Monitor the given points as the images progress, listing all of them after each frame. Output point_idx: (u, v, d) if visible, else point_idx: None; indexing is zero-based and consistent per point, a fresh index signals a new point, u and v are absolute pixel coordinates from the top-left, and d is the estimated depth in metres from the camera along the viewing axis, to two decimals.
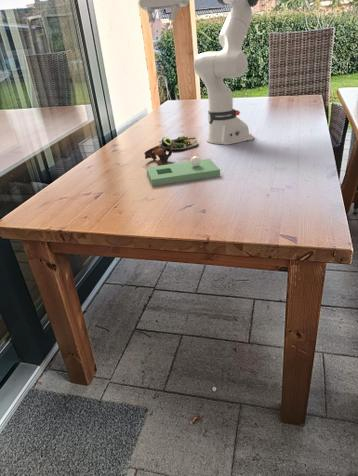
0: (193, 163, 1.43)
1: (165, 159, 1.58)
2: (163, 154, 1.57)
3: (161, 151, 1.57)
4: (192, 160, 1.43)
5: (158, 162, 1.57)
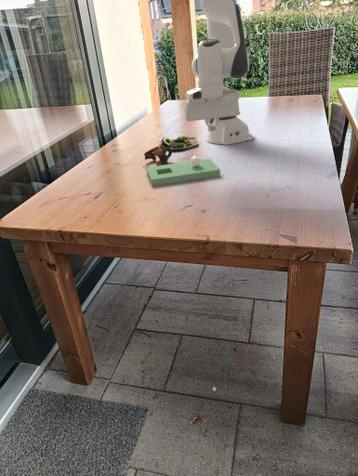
0: (193, 163, 1.43)
1: (165, 160, 1.57)
2: (163, 155, 1.57)
3: (161, 152, 1.56)
4: (192, 160, 1.43)
5: (158, 163, 1.56)
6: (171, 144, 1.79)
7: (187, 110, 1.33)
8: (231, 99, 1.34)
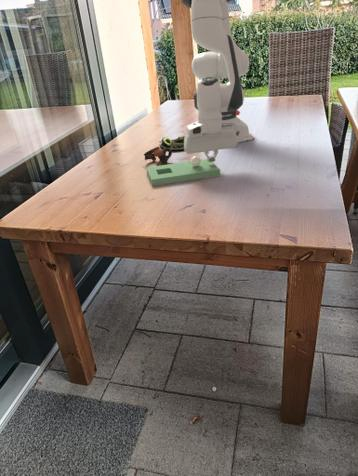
0: (193, 163, 1.43)
1: (165, 160, 1.57)
2: (163, 155, 1.56)
3: (161, 152, 1.56)
4: (192, 160, 1.43)
5: (158, 163, 1.55)
6: (171, 144, 1.79)
7: (187, 144, 1.39)
8: (230, 133, 1.40)
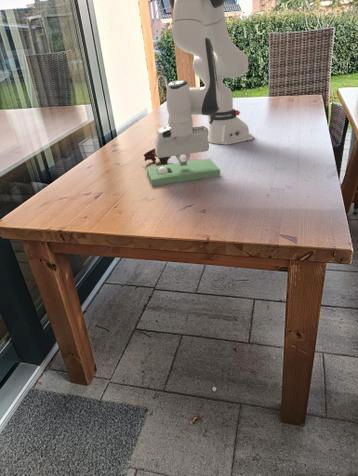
0: None
1: (165, 161, 1.56)
2: None
3: None
4: (158, 173, 1.43)
5: (158, 164, 1.55)
6: None
7: (158, 148, 1.37)
8: (201, 136, 1.39)
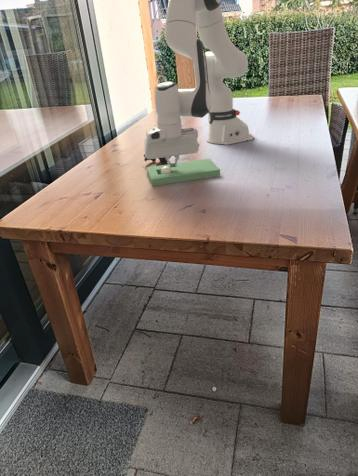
0: (163, 173, 1.42)
1: (165, 161, 1.56)
2: None
3: None
4: (162, 170, 1.42)
5: (158, 164, 1.54)
6: None
7: (146, 149, 1.36)
8: (190, 138, 1.38)
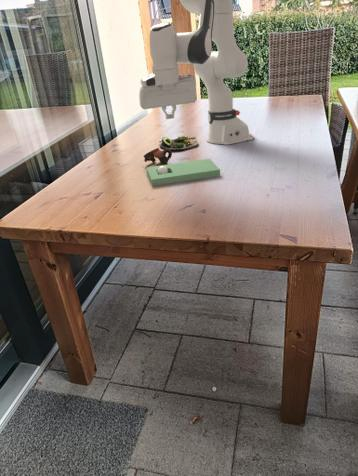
0: (160, 173, 1.43)
1: (165, 162, 1.55)
2: (163, 157, 1.54)
3: (161, 154, 1.54)
4: (158, 171, 1.43)
5: (158, 165, 1.53)
6: (171, 144, 1.79)
7: (142, 98, 1.29)
8: (188, 86, 1.31)
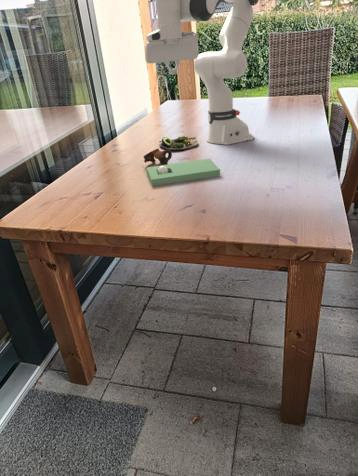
0: (160, 172, 1.43)
1: (165, 162, 1.55)
2: (163, 157, 1.54)
3: (161, 154, 1.53)
4: (158, 170, 1.44)
5: (158, 165, 1.53)
6: (171, 144, 1.79)
7: (147, 52, 1.39)
8: (190, 42, 1.40)
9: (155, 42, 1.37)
